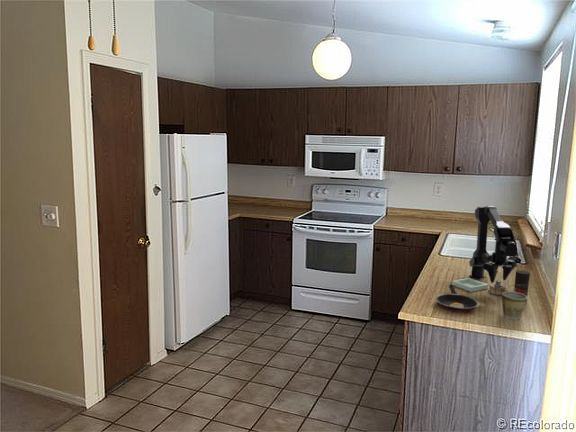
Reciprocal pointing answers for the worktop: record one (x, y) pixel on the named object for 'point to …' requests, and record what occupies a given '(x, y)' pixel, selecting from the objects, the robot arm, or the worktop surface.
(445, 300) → the frying pan
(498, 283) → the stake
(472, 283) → the tray
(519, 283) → the deodorant
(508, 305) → the ceramic cup
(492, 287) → the ring
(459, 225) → the worktop surface
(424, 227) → the worktop surface
